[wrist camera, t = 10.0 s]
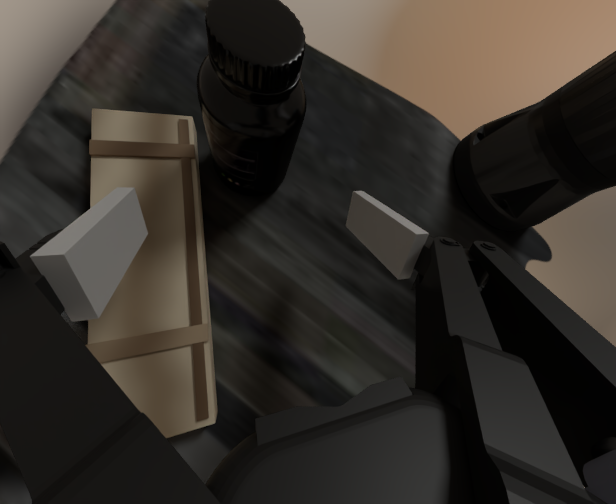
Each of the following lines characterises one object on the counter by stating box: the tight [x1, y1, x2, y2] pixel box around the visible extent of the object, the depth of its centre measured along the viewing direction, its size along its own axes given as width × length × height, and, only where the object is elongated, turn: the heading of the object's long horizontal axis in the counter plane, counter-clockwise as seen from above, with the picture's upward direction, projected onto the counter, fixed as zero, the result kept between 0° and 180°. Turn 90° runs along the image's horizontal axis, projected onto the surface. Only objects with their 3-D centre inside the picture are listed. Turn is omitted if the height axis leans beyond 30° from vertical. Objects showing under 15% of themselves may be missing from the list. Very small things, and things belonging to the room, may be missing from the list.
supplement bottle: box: [197, 0, 306, 196], centre depth 16 cm, size 7×7×12 cm
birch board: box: [85, 109, 218, 438], centre depth 17 cm, size 7×24×2 cm, turn 9°
